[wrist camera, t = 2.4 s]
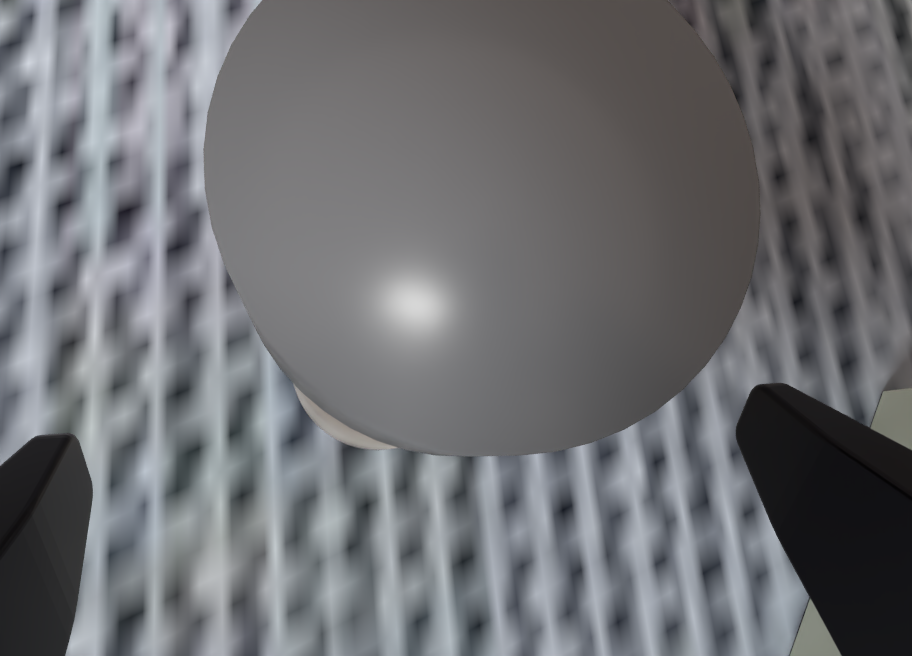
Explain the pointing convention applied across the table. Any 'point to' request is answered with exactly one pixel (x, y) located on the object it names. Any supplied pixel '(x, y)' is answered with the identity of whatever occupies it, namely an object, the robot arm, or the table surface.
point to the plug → (481, 214)
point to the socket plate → (907, 423)
